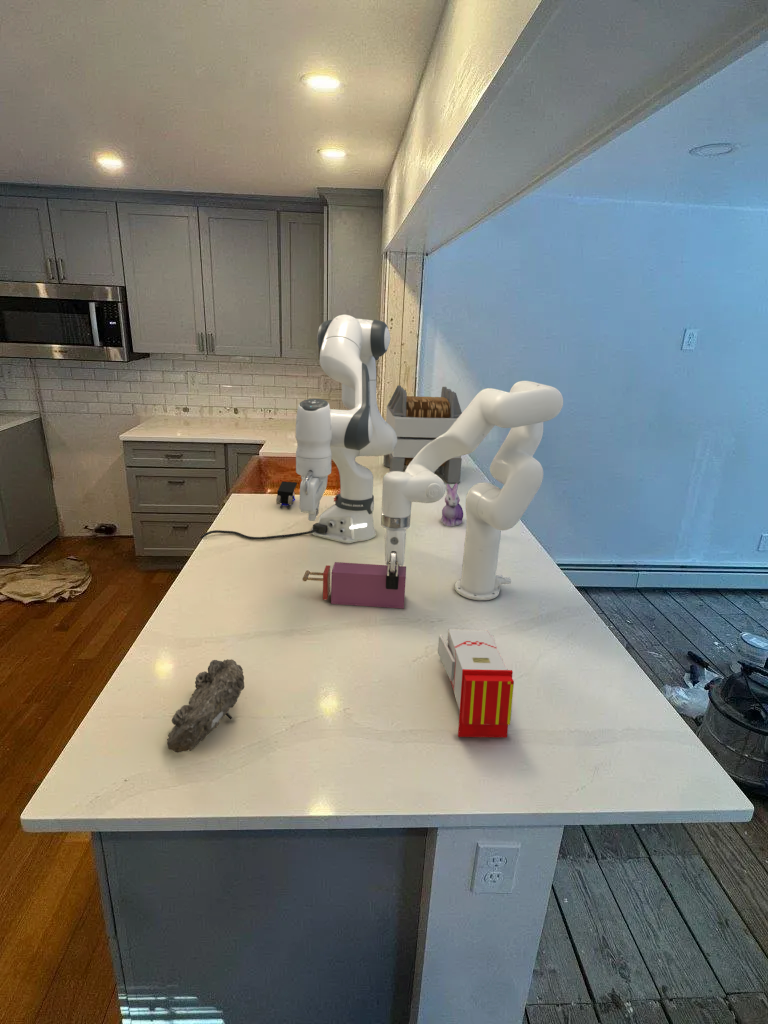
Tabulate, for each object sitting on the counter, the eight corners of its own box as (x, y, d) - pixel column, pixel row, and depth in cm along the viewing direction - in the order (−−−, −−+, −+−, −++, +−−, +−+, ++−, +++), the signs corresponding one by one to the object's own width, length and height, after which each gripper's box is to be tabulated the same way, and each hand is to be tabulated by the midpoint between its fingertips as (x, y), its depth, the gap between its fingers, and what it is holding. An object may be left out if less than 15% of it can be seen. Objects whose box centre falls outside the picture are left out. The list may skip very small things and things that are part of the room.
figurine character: (293, 513, 218) (297, 497, 231) (292, 495, 215) (297, 480, 228) (275, 513, 218) (281, 496, 231) (274, 495, 214) (280, 479, 228)
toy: (488, 613, 130) (523, 677, 101) (484, 667, 133) (517, 744, 104) (435, 612, 130) (455, 676, 101) (432, 666, 133) (451, 743, 103)
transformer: (382, 463, 289) (386, 382, 275) (445, 464, 293) (451, 384, 279) (390, 482, 257) (394, 392, 243) (460, 483, 261) (468, 394, 247)
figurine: (448, 528, 206) (452, 489, 201) (433, 519, 215) (436, 481, 210) (470, 525, 210) (473, 486, 205) (454, 516, 219) (457, 479, 214)
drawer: (302, 598, 152) (302, 572, 149) (305, 589, 156) (305, 563, 154) (391, 603, 151) (393, 577, 148) (392, 594, 155) (393, 569, 153)
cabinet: (331, 604, 151) (331, 572, 148) (334, 592, 157) (334, 561, 154) (403, 608, 150) (405, 576, 147) (404, 597, 156) (406, 566, 153)
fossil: (192, 660, 117) (244, 628, 112) (224, 691, 120) (276, 661, 115) (142, 746, 98) (202, 712, 93) (182, 779, 101) (242, 748, 96)
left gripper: (319, 478, 132) (319, 533, 136) (331, 456, 151) (331, 505, 156) (292, 476, 132) (293, 531, 137) (308, 455, 151) (308, 504, 156)
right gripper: (409, 533, 137) (405, 599, 143) (410, 509, 153) (406, 569, 159) (379, 531, 137) (376, 597, 143) (383, 507, 154) (380, 567, 160)
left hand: (313, 517), depth 146 cm, fingers closed
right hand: (392, 582), depth 151 cm, fingers closed on cabinet, 6 cm apart
